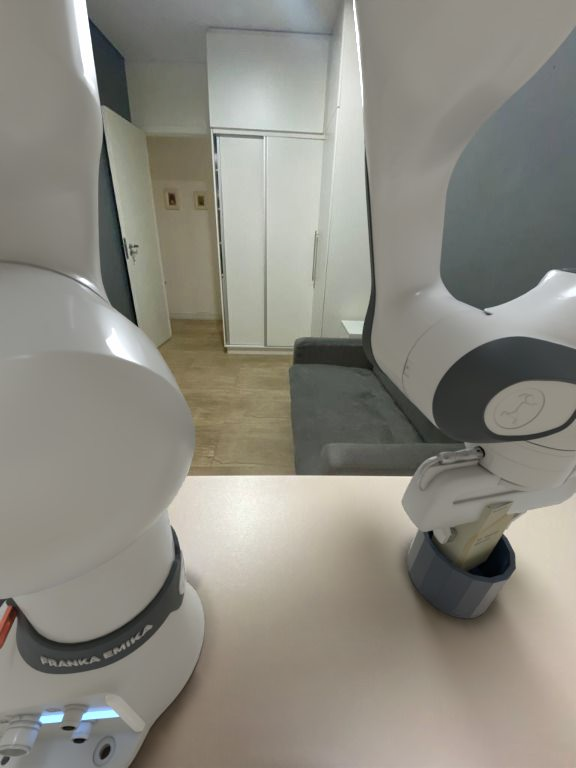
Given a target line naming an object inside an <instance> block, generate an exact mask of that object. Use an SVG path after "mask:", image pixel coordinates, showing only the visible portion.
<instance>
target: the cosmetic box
mask: <svg viewBox="0 0 576 768" xmlns="http://www.w3.org/2000/svg"><path fill="white" fill-rule="evenodd" d="M513 502H514V501H512V502H508V503H501V504H495V505H489V506H486V508H485V509H484V511H483V513H482V515H481V517H480V518H479V520H477V521H475V522H471V523H466V524H461V525H456V526H454V527H451V528H453V529H454V530H455V532H456V533H457V535H456V537H455V538H454V541H452V542H448V543H444V544H441V543H440V542H439V541H438V539H437V538H436V537H435V535H434V534H433V536H432V538H431V541H432V543H433V544H434V546H435V547H436V548H437V550H438V551H439V553H440V554H442V555H443V556H444V557H445V558H446V559H447V560H449V561H450V562H451V563H452V564H453V565H454V566H456V567H458V568H460V569H462V570H464V571H466V572H467V571H469V570H470V569H472V568H474V567H476V566H478V565H480V564H481V563H483V562H485V561H486V560H487V558H488V557H489V555H490V554H491V552H492V550H493V549H494V547H495V546H496V544H497V542H498V541H499V539H500V537H501V536H502V534H504V533H505V531H506V530H507V529H506V528H507V526H508V524H509V523H510V521H511V519H512V518H513V516H514V514H515V513H514V514H509V515H508V514H507V512H508V510H509V509H510V507H511V505H512V504H513ZM505 529H506V530H505Z"/></svg>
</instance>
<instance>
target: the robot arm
mask: <svg viewBox="0 0 576 768" xmlns="http://www.w3.org/2000/svg"><path fill="white" fill-rule="evenodd" d="M352 3H353V13H354V25H355V34H356V43H357V53H358V61H359V62H358V63H359V74H360V87H361V101H362V124H363V125H362V127H363V144H364V183H365V184H364V185H365V201H366V202H365V204H366V218H367V232H368V233H367V235H368V245H369V246H368V249H369V264H370V265H369V266H370V295H369V301H368V305H367V308H366V313H365V317H364V321H363V325H362V330H361V331H362V333H361V343H362V348H363V352H364V354H365V356H366V358H367V360H368V361H369V362H370V364H371V365H372V366H373V367H374V368H376V369H377V370H378V371H379V372H380V373H382V374H383V375H384V376H385V377H386V378H388V379H389V380H390V381H391V382H392V383H393V384H394V385H395V386H396V387H397V389H398V390H399V391H400V392H401V393H402V394H403V395H404V396H405V397H406V398H407V399H408V400H409V401H410V402H411V403H412V404H413V405H414V406H415V407H416V408H417V409H418V410H419V412H421V413H422V414H423V415H424V416H425V417H426V418H427V420H428V421H430V423H432V425H434V426H435V427H436V428H437V429H438V430H439V431H440V432H441V433H442V434H444V435H445V436H446V437H448V438H450V439H452V440H454V441H457V442H462V443H464V447H465V448H462V449H459V450H453V451H452V450H446V451H442V452H439V453H437V455H434V456H431V457H429V458H426V459H425V460H424V461H423V462H422V463H421V464H420V465H419V466H418V468H417V469H416V471H415V472H414V474H413V475H412V477H411V479H410V481H409V483H408V485H407V486H406V489H405V491H404V493H403V496H402V499H401V505H402V508H403V510H404V512H405V514H406V515H407V517H408V518H409V520H410V521H411V522H412V524H413V525H414V526H415V527H416V528H418V529H419V530H420V531H422V532H427V531H432V530H433V533H434V535H435V537H436V538H437V539H438V541H439V542H440V543H441V544H444V543H448V542H452V541H454V538H455V537H456V535H457V533H456V532H455V530H454V529H453V528H451V527H454V526H456V525H461V524H466V523H471V522H475V521H477V520H479V518H480V517H481V515H482V513H483V511H484V509H485V508H486V506H489V505H495V504H501V503H508V502H512V501H514V502H513V504H512V505H511V507H510V509H509V510H508V512H507V514H508V515H509V514H514V513H515V514H514V516H513V518H512V519H511V521H510V523H509V524H508V526H507V528H506V529H505V531H507V530H508V529H509V528H510V526H511V524H512V523H513V522H515V521H517V520H518V519H519V518H520V517H522V516H523V515H525V514H526V513H527V512H528V511H533V510H537V509H543V508H547V507H553V506H557V505H561V504H563V503H564V502H566V501H567V500H570V498H572V497H573V496H574V495H575V494H576V267H563V268H555V269H554V268H553V269H551V270H549V271H547V272H546V274H545V275H544V276H543V277H541V279H540V281H539V282H538V284H537V285H536V286H535V287H534V288H531V289H530V290H528V291H527V292H526V293H524V294H522V295H520V296H518V297H516V298H514V299H512V300H510V301H507V302H504V303H502V304H498V305H495V306H491V307H487V308H484V309H483V310H482V309H480V308H477V307H475V306H473V305H470V304H468V303H465V302H463V301H461V300H458V299H456V298H455V297H454V296H453V295H452V294H451V292H449V290H448V289H447V287H446V286H445V284H444V282H443V280H442V277H441V262H442V249H443V236H444V228H445V214H446V202H447V193H448V188H449V184H450V181H451V177H452V175H453V172H454V169H455V167H456V165H457V162H458V161H459V160H460V157H461V156H462V153H463V152H464V151H465V149H466V148H467V146H468V144H470V142H471V141H472V140H473V138H474V136H475V135H476V134H477V133H478V132H479V131H480V129H481V128H482V127H483V126H484V124H486V122H488V120H489V119H490V118H491V117H492V116H493V115H494V114H495V113H496V112H497V111H498V110H499V109H500V108H501V107H502V106H503V105H504V104H505V103H506V102H507V101H508V100H510V99H511V98H512V97H513V96H514V95H515V94H516V93H517V92H518V91H519V90H520V89H521V88H522V87H523V86H524V85H526V84H527V83H528V82H529V81H530V80H531V78H533V77H534V75H536V74H537V72H538V71H540V69H541V68H542V67H543V66H544V65H545V64H546V63H547V61H548V60H550V58H552V56H553V55H554V53H555V52H557V50H558V49H559V47H561V45H562V44H563V43H564V42H565V41H566V40H567V38H568V37H569V35H571V33H572V31H573V30H574V29H575V28H576V0H352ZM90 29H91V28H90V23H89V15H88V8H87V2H86V0H0V768H129V767H130V765H132V763H133V761H134V759H135V758H136V756H137V755H138V753H139V751H140V750H141V747H142V746H143V744H144V741H145V739H146V738H147V735H148V734H149V732H150V729H151V728H152V727H153V725H154V724H155V722H156V721H157V720H158V718H160V716H161V715H162V714H163V713H164V712H165V711H166V710H167V709H168V707H170V705H171V704H172V703H173V702H174V701H175V699H177V697H178V696H179V695H180V693H181V692H182V690H183V689H184V687H185V686H186V685H187V683H188V681H189V680H190V678H191V676H192V674H193V672H194V670H195V667H196V666H197V663H198V660H199V658H200V655H201V652H202V648H203V644H204V638H205V629H206V621H205V620H206V618H205V611H204V607H203V603H202V600H201V598H200V596H199V594H198V592H197V591H196V589H195V588H194V587H193V585H191V584H190V582H188V581H187V569H186V564H185V558H184V554H183V550H182V549H181V544H180V541H179V538H178V534H177V532H176V530H175V529H174V527H173V525H172V524H171V521H170V517H169V511H168V510H169V509H168V508H169V507H170V505H172V503H173V502H174V500H175V498H176V496H177V495H178V493H179V492H180V490H181V488H182V487H183V484H184V483H185V480H186V478H187V476H188V474H189V471H190V468H191V466H192V463H193V460H194V459H193V458H194V454H195V448H196V427H195V422H194V419H193V415H192V412H191V409H190V407H189V405H188V402H187V401H186V398H185V396H184V394H183V393H182V390H181V388H180V386H179V384H178V382H177V380H176V378H175V376H174V374H173V373H172V371H171V368H170V367H169V365H168V363H167V362H166V360H165V359H164V357H163V356H162V354H161V352H160V350H159V348H158V347H157V346H156V344H155V343H154V342H153V341H152V340H151V339H150V337H149V336H148V335H147V334H146V333H145V332H144V331H143V330H141V328H140V327H138V326H137V325H136V324H135V323H134V322H132V321H131V320H130V319H129V318H127V317H126V316H125V315H123V314H122V313H121V312H119V311H118V310H117V309H116V308H114V307H113V305H112V304H111V302H110V300H109V298H108V295H107V292H106V288H105V287H104V283H103V278H102V271H101V270H102V269H101V256H100V231H99V229H100V227H99V177H100V175H99V174H100V173H99V172H100V161H101V155H102V148H103V139H104V138H103V137H104V119H103V113H102V106H101V100H100V93H99V86H98V79H97V73H96V71H97V70H96V66H95V60H94V59H95V58H94V51H93V43H92V37H91V30H90ZM108 747H110V751H109V753H108V755H107V756H106V757H105V758H102V755H103V752H104V751H105V750H106V748H108Z"/></svg>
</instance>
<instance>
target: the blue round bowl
mask: <svg viewBox="0 0 576 768" xmlns="http://www.w3.org/2000/svg"><path fill="white" fill-rule="evenodd" d="M416 528H417V527H416ZM433 534H434V533H433V530H432V531H427V532H422V531H420V530H419V529H418V528H417V529H416V531H415V533H414V536H413V538H412V541H411V543H410V546H409V549H408V552H407V556H406V568H407V572H408V575H409V577H410V580H411V582H412V584H413V585H414V586H415V588H416V589H417V591H418V592H419V593H420V595H421V596H422V597H423V598H424V599H425V600H426V601H427V602H428V603H429V604H430V605H432V606H433V607H435V608H436V609H437V610H439V611H440V612H442V613H445V614H446V615H449V616H451V617H455V618H458V619H474V618H478V617H480V616H481V615H482V614H484V613H486V611H487V609H488V608H489V607H490V605H491V604H492V602H493V601H494V600H495V599H496V597H497V596H498V595H499V593H500V591H501V590H502V589H503V588H504V586H505V585H506V583H507V582H508V580H509V579H511V576H512V575H513V574H514V573H515V571H516V569H517V565H516V563H517V561H516V553H515V550H514V548H513V547H512V544H511V543H510V540H509V538H508V537H507V536H506V535H505V534H504V533H503V534H502V536H501V537H500V539H499V541H498V542H497V544H496V546H495V547H494V549H493V550H492V552H491V554H490V555H489V557H488V558H487V560H486V561H485V562H483V563H481V564H480V565H478V566H476V567H474V568H472V569H470V570H469V571H467V572H466V571H464V570H462V569H460V568H458V567H456V566H454V565H453V564H452V563H451V562H450V561H449V560H447V559H446V558H445V557H444V556H443V555H442V554H440V553H439V551H438V550H437V548H436V547H435V546H434V544H433V543H432V541H431V538H432V536H433Z"/></svg>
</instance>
